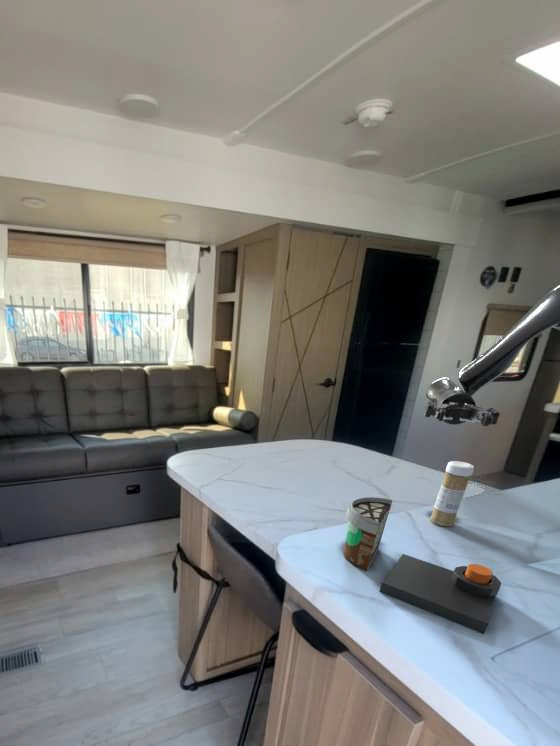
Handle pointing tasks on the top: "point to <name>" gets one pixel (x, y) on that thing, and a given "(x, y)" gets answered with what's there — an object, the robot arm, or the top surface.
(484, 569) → the button
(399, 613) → the top surface
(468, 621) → the scale
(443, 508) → the sprinkles bottle
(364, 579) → the top surface
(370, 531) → the food container
